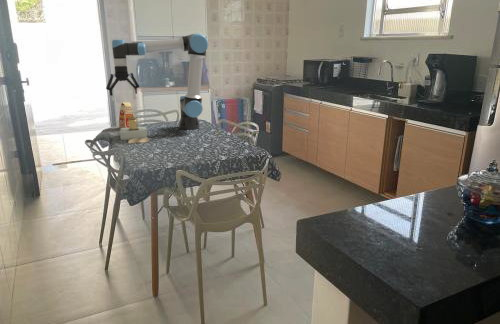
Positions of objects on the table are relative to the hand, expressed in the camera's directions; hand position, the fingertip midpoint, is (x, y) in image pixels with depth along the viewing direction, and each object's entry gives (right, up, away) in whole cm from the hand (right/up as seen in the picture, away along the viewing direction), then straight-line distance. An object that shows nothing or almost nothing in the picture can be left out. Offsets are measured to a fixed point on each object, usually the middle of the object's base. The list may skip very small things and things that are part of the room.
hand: (124, 99), depth 243 cm
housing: (+4, -23, +6) cm, 24 cm away
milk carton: (-7, -16, +29) cm, 34 cm away
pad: (+10, -27, -5) cm, 29 cm away
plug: (+4, -23, +6) cm, 24 cm away
